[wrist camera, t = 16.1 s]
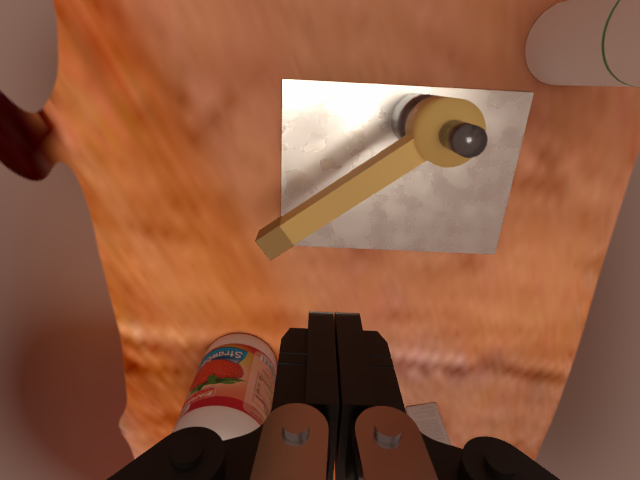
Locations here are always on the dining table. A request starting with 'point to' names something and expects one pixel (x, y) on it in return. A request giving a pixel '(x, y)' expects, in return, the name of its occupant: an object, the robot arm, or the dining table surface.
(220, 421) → the fruit juice
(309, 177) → the square base plate stand
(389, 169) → the lever handle
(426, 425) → the skincare box
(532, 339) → the dining table surface
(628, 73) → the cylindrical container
